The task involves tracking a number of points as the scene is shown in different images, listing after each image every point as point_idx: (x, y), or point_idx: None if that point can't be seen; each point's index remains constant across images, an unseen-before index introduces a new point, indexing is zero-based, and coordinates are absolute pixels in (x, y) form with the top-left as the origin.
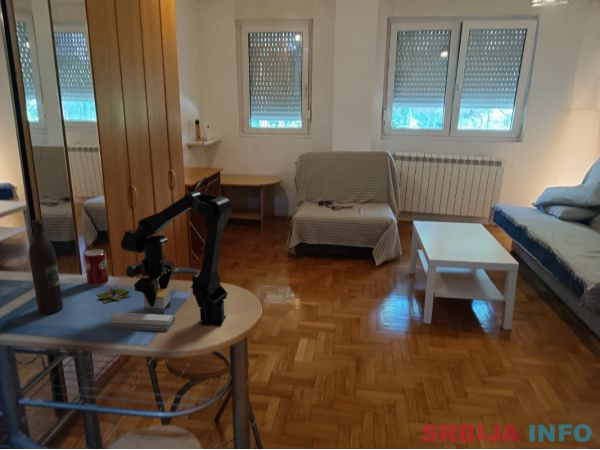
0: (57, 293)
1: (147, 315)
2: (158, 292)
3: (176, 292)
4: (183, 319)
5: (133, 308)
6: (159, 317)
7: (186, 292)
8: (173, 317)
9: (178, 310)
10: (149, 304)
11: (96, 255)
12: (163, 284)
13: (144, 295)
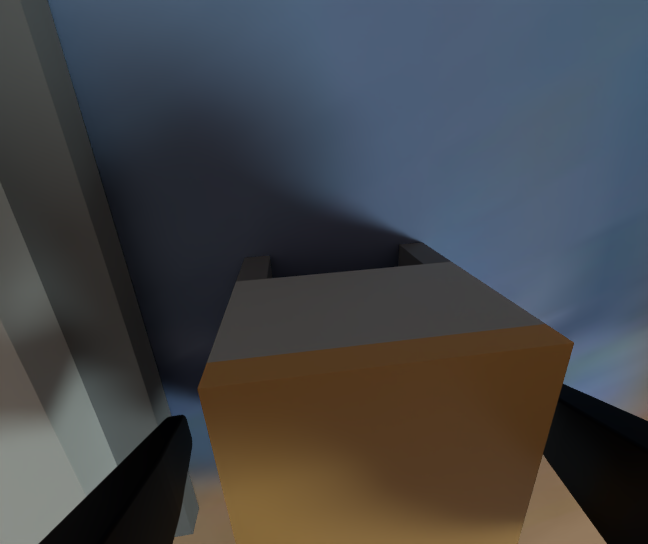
0: None
1: (18, 436)
2: (389, 522)
3: (642, 332)
4: (221, 539)
5: (313, 76)
6: (41, 537)
7: (625, 396)
8: (180, 530)
9: None
10: (143, 442)
11: None
12: (641, 524)
13: (221, 399)
